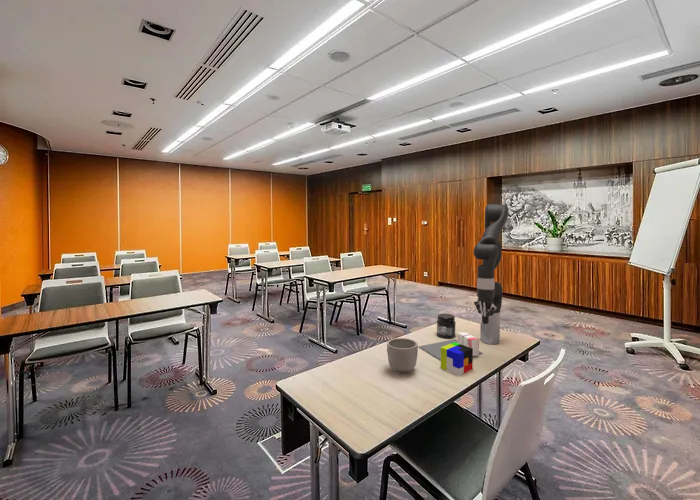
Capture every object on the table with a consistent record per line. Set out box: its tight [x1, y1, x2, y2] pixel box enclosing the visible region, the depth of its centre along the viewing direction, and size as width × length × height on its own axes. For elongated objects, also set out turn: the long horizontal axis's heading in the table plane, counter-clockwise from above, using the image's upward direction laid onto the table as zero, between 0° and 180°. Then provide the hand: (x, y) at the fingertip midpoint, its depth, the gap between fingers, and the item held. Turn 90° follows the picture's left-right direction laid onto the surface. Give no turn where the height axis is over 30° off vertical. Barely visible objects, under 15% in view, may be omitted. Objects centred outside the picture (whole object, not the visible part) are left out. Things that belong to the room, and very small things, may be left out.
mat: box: [418, 338, 483, 362], centre depth 178 cm, size 21×24×1 cm
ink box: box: [456, 331, 480, 357], centre depth 174 cm, size 9×5×12 cm
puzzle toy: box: [440, 342, 474, 377], centre depth 157 cm, size 10×10×10 cm
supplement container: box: [436, 313, 457, 339], centre depth 199 cm, size 10×10×12 cm
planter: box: [386, 337, 419, 375], centre depth 156 cm, size 14×14×13 cm
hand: (485, 323), depth 160 cm, fingers closed
